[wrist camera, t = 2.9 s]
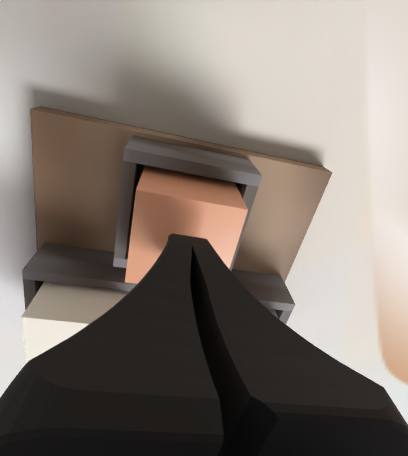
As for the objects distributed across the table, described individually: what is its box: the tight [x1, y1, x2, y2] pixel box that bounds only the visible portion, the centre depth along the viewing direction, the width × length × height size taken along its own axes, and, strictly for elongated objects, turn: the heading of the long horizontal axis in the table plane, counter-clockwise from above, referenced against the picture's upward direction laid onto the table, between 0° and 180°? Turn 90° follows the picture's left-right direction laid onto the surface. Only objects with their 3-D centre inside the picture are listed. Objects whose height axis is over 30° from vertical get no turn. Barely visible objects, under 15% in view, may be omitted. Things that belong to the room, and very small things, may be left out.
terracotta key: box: [125, 165, 248, 284], centre depth 12 cm, size 4×4×3 cm
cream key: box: [21, 281, 129, 364], centre depth 15 cm, size 4×4×3 cm
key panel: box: [22, 107, 332, 324], centre depth 16 cm, size 14×13×4 cm
